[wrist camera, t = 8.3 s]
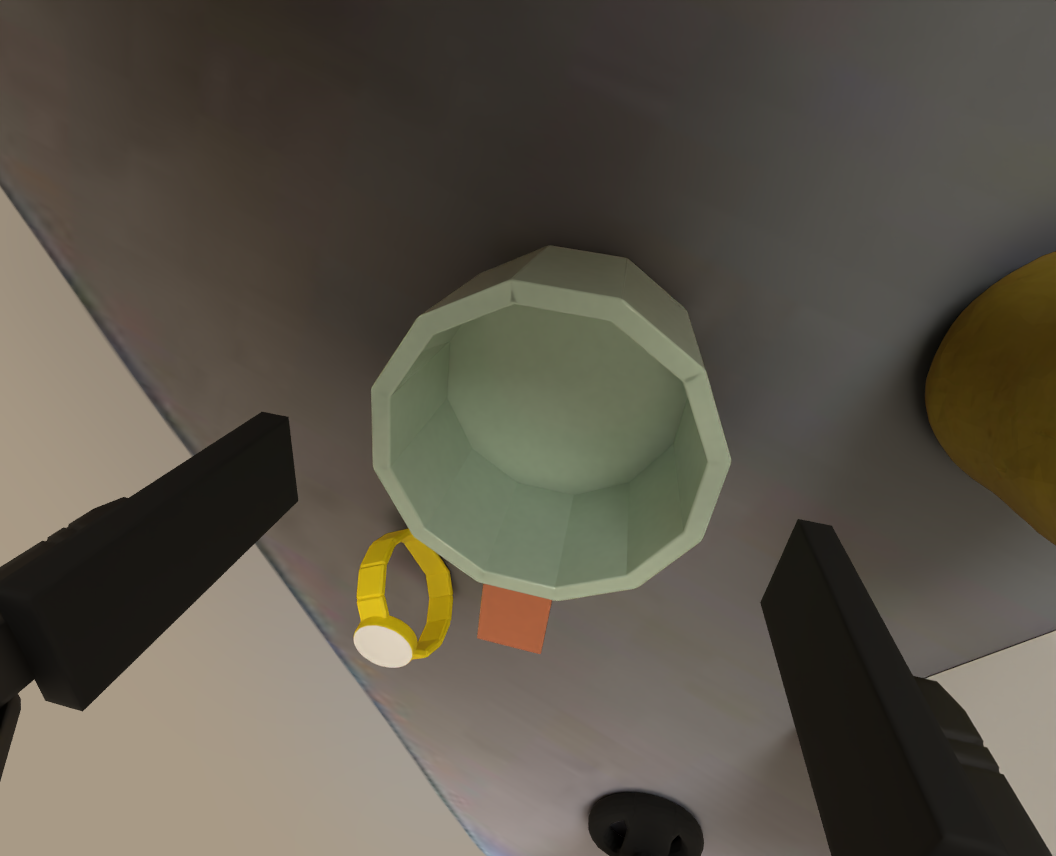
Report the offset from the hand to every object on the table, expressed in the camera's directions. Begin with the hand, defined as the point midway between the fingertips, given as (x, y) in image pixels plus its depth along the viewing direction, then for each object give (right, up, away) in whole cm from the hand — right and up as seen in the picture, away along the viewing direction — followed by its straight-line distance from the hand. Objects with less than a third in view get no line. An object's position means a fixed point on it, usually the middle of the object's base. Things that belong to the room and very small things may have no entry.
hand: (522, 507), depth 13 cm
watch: (-5, -5, +14) cm, 16 cm away
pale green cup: (+1, +3, +7) cm, 8 cm away
